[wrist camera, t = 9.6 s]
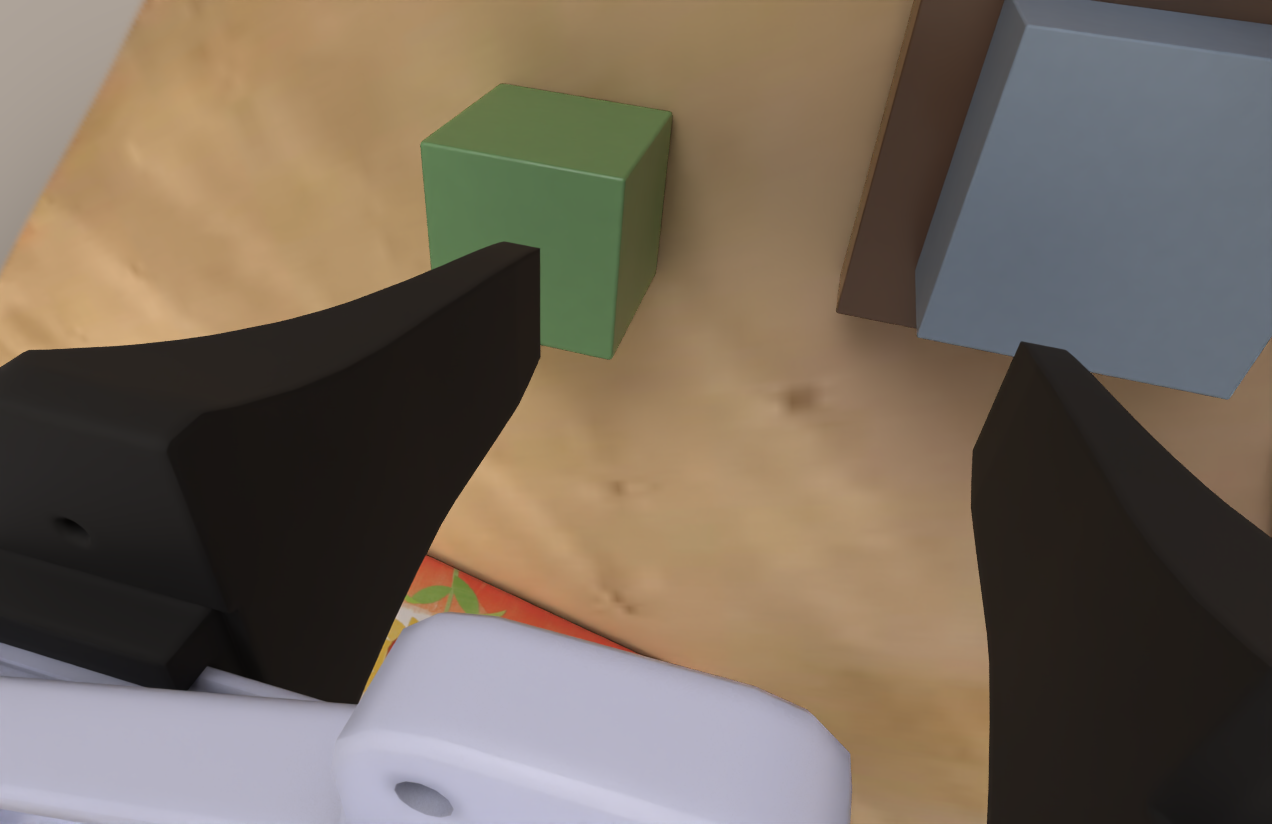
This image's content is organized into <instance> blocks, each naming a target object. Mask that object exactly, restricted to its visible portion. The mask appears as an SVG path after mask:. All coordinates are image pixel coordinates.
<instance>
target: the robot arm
mask: <svg viewBox="0 0 1272 824" xmlns="http://www.w3.org/2000/svg"><path fill="white" fill-rule="evenodd" d="M539 359H540V248H536V247H531V246H526V245H521V244H516V243H511V242H505V241H503V242H499V243H496V244H493V245H490V246H487V247H485V248H482V249H479V250H477V251H475V252H472V253H470V254H467V255H465V256H463V257H460V258H458V259H456V260H453V261H451V262H449V263H446V264H444V265H442V266H439V267H437V268H435V269H432V270H430V271H428V272H425V273H423V274H421V275H418V276H416V277H414V278H411V279H409V280H406V281H404V282H401V283H399V284H396V285H393V286H391V287H388V288H385V289H383V290H380V291H377V292H375V293H372V294H369V295H367V296H364V297H361V298H359V299H356V300H354V301H351V302H348V303H345V304H342V305H338V306H335V307H332V308H329V309H325V310H322V311H318V312H315V313H311V314H308V315H304V316H300V317H297V318H293V319H289V320H285V321H281V322H276V323H271V324H266V325H261V326H256V327H251V328H246V329H241V330H236V331H231V332H226V333H221V334H216V335H210V336H203V337H196V338H188V339H181V340H174V341H165V342H155V343H146V344H136V345H125V346H110V347H91V348H71V349H52V350H28V351H26V352H24V353H22V354H20V355H19V356H17V357H16V358H14V359H13V360H11V361H10V362H8V363H6V364H5V365H3V366H2V367H0V824H850V818H851V800H852V777H851V760H850V753H849V752H848V751H847V750H846V749H845V748H844V747H843V745H842V744H841V743H840V742H839V741H838V740H837V739H836V738H835V737H834V736H833V735H832V734H831V733H830V732H829V731H828V730H827V729H826V728H825V727H824V726H823V725H822V724H821V723H820V722H819V721H818V720H817V718H816V717H815V716H814V715H812V714H811V713H810V712H809V711H808V710H807V709H805V708H803V707H800V706H798V705H796V704H794V703H791V702H789V701H787V700H785V699H782V698H780V697H778V696H776V695H773V694H771V693H769V692H767V691H764V690H762V689H760V688H758V687H756V686H753V685H749V684H745V683H742V682H738V681H734V680H731V679H727V678H723V677H720V676H716V675H712V674H709V673H705V672H701V671H698V670H694V669H690V668H687V667H683V666H679V665H676V664H672V663H668V662H664V661H661V660H657V659H653V658H650V657H646V656H642V655H639V654H635V653H631V652H628V651H624V650H620V649H617V648H613V647H609V646H606V645H602V644H598V643H595V642H591V641H587V640H583V639H580V638H576V637H572V636H569V635H565V634H561V633H558V632H554V631H550V630H547V629H543V628H539V627H536V626H532V625H528V624H525V623H521V622H517V621H514V620H510V619H506V618H502V617H499V616H489V615H478V614H468V613H457V612H444V613H438V614H435V615H433V616H431V617H428V618H426V619H424V620H422V621H419V622H417V623H415V624H413V625H410V626H408V627H406V628H403V630H402V632H401V633H400V635H399V637H398V638H397V640H396V642H395V643H394V645H393V647H392V648H391V650H390V652H389V653H388V655H387V657H386V658H385V660H384V662H383V663H382V665H381V667H380V668H379V670H378V672H377V673H376V675H375V677H374V678H373V680H372V682H371V683H370V685H369V687H368V688H367V690H366V692H365V693H364V695H363V697H362V698H361V696H362V694H363V691H364V689H365V686H366V684H367V681H368V679H369V677H370V675H371V672H372V670H373V668H374V666H375V663H376V661H377V659H378V656H379V654H380V652H381V650H382V647H383V645H384V643H385V640H386V638H387V636H388V634H389V631H390V629H391V627H392V624H393V622H394V620H395V618H396V616H397V614H398V612H399V610H400V607H401V605H402V603H403V601H404V599H405V597H406V595H407V593H408V591H409V588H410V586H411V584H412V582H413V580H414V578H415V576H416V574H417V571H418V570H419V568H420V566H421V564H422V562H423V560H424V558H425V556H426V554H427V552H428V550H429V548H430V546H431V544H432V542H433V540H434V538H435V536H436V534H437V532H438V530H439V528H440V526H441V524H442V522H443V521H444V519H445V517H446V516H447V514H448V512H449V511H450V509H451V507H452V506H453V504H454V502H455V501H456V499H457V498H458V496H459V495H460V493H461V492H462V490H463V489H464V487H465V486H466V484H467V483H468V481H469V480H470V478H471V477H472V475H473V474H474V472H475V471H476V469H477V468H478V466H479V465H480V463H481V462H482V460H483V459H484V457H485V456H486V454H487V453H488V451H489V450H490V448H491V447H492V445H493V444H494V442H495V441H496V439H497V437H498V436H499V434H500V433H501V431H502V430H503V428H504V427H505V425H506V424H507V422H508V421H509V419H510V417H511V416H512V414H513V413H514V411H515V410H516V408H517V406H518V405H519V403H520V401H521V399H522V397H523V394H524V392H525V390H526V388H527V386H528V384H529V382H530V380H531V377H532V375H533V373H534V370H535V368H536V366H537V364H538V361H539ZM971 512H972V521H973V529H974V537H975V546H976V554H977V561H978V569H979V577H980V584H981V592H982V600H983V607H984V615H985V623H986V630H987V640H988V653H989V692H990V734H989V790H988V813H987V824H1272V538H1271V537H1269V536H1268V535H1267V534H1266V533H1264V532H1263V531H1262V530H1260V529H1259V528H1258V527H1256V526H1255V525H1254V524H1253V523H1251V522H1250V521H1249V520H1247V519H1246V518H1245V517H1243V516H1242V515H1241V514H1239V513H1238V512H1237V511H1236V510H1234V509H1233V508H1232V507H1230V506H1229V505H1228V504H1227V503H1225V502H1224V501H1223V500H1222V499H1221V498H1219V497H1218V496H1217V495H1216V494H1215V493H1213V492H1212V491H1211V490H1210V489H1209V488H1207V487H1206V486H1205V485H1204V484H1203V483H1202V482H1201V481H1200V480H1199V479H1197V478H1196V477H1195V476H1194V475H1193V474H1192V473H1191V472H1190V471H1189V470H1187V469H1186V468H1185V467H1184V466H1183V465H1182V464H1181V463H1180V462H1179V461H1177V460H1176V459H1175V458H1174V457H1173V456H1172V455H1171V454H1170V453H1169V452H1168V451H1167V450H1166V449H1165V448H1164V447H1163V446H1162V445H1161V444H1159V443H1158V442H1157V441H1156V440H1155V439H1154V438H1153V437H1152V436H1151V435H1150V434H1149V433H1148V432H1147V431H1146V430H1145V429H1144V428H1143V427H1142V426H1141V425H1140V424H1139V423H1138V422H1137V421H1136V420H1135V419H1134V418H1133V417H1132V416H1131V414H1130V413H1129V412H1128V411H1127V410H1126V409H1125V408H1124V407H1123V406H1122V405H1121V404H1120V403H1119V402H1118V401H1117V400H1116V399H1115V398H1114V397H1113V396H1112V395H1111V394H1110V393H1109V392H1108V390H1107V389H1106V388H1105V387H1104V386H1103V385H1102V384H1101V383H1100V382H1099V381H1098V380H1097V379H1096V378H1095V377H1094V376H1093V375H1092V374H1091V373H1090V372H1089V371H1088V370H1087V369H1086V368H1085V367H1084V366H1083V365H1082V364H1081V363H1080V362H1079V361H1078V360H1077V359H1076V358H1075V357H1074V356H1073V355H1072V354H1070V353H1069V352H1068V351H1067V350H1065V349H1059V348H1054V347H1049V346H1044V345H1039V344H1033V343H1028V342H1023V341H1021V342H1020V344H1019V346H1018V349H1017V351H1016V353H1015V355H1014V358H1013V360H1012V362H1011V364H1010V367H1009V369H1008V371H1007V374H1006V376H1005V378H1004V380H1003V383H1002V385H1001V387H1000V390H999V392H998V394H997V396H996V399H995V401H994V403H993V405H992V408H991V410H990V412H989V415H988V417H987V419H986V421H985V424H984V426H983V428H982V431H981V433H980V435H979V437H978V440H977V442H976V444H975V446H974V449H973V458H972V480H971ZM360 699H361V700H360Z"/></svg>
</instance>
